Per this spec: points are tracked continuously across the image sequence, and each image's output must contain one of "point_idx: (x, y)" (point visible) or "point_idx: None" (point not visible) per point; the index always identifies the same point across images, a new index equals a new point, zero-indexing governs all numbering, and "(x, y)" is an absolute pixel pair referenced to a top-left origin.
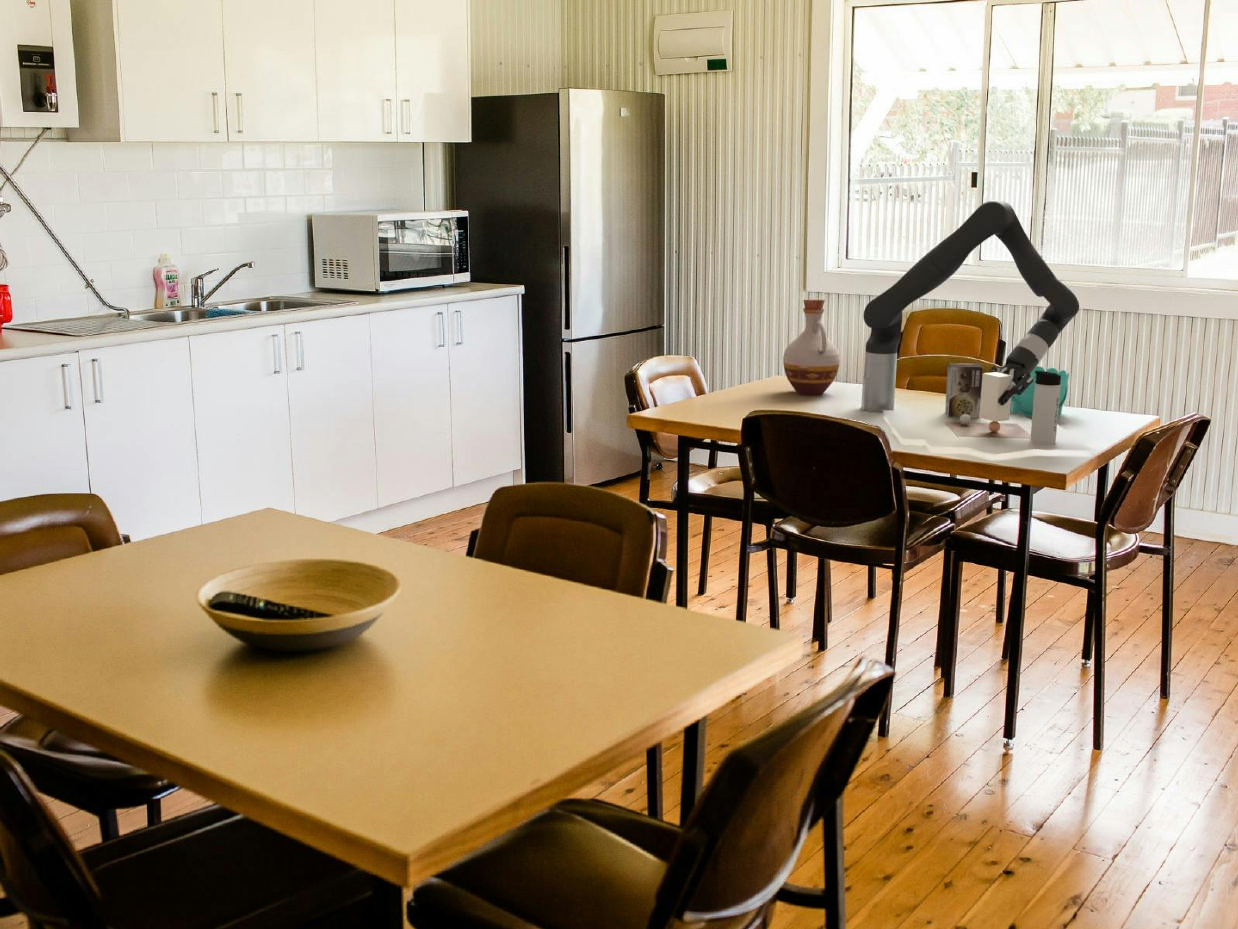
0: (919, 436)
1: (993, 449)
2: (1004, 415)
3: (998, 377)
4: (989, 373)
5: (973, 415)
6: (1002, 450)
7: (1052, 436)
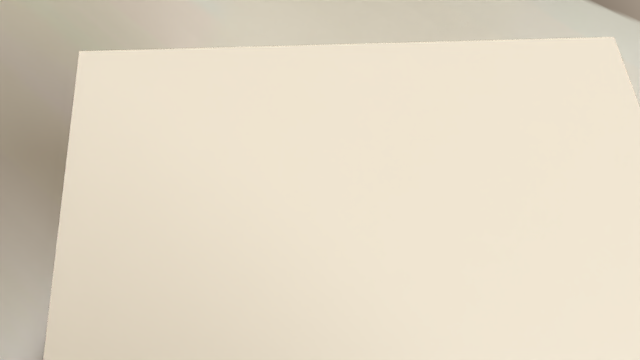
0: (455, 22)
1: (52, 128)
2: None
3: (112, 59)
4: (578, 159)
5: None
6: (5, 153)
7: None
